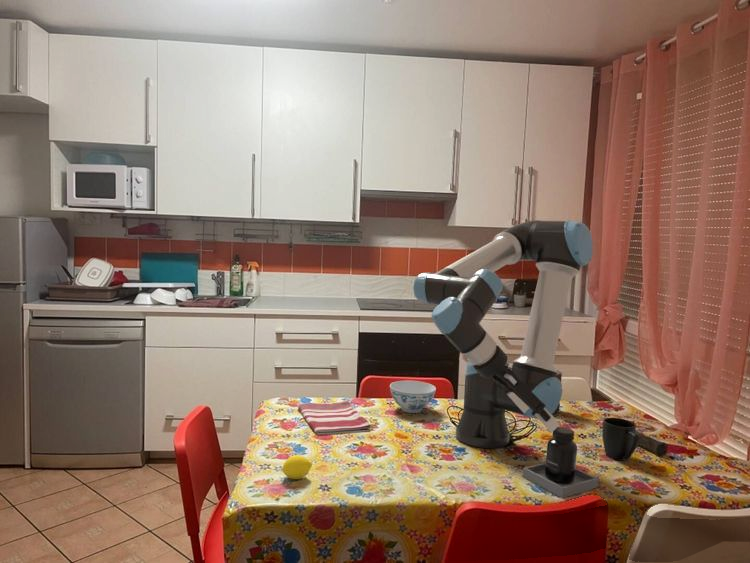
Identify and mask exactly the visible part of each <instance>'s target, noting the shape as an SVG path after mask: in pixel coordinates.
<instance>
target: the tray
mask: <svg viewBox="0 0 750 563" xmlns="http://www.w3.org/2000/svg"><path fill="white" fill-rule="evenodd" d="M545 465H546V462H542V463H538V464H533V465H530V466H525V467H523V468H522V475H521V476H522V477H523V478H524V479H526V480H527V481H530V482H532V483H534V484H535V485H537V486H539V487H540V488H543V489H544V490H547V491H549V492H550V493H552V494H554V495H555V496H558V497H559V498H567V497H569V496H570V497H571V496H574V495H576V494H580V493H584V492H587V491H591V490H594V489H593V488H595V489H597V488H596V487H599V477H595V476H593V475H591V474H590V473H587V472H585V471H582V470H580V469H579V468H577V467H575V477H574V481H573V482H572V483H569V484H560V483H556V482H553V481H551V480H549V479H548V478H547V477H546V476H545Z"/></svg>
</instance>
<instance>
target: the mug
mask: <svg viewBox="0 0 750 563" xmlns="http://www.w3.org/2000/svg"><path fill="white" fill-rule="evenodd" d="M636 430H637V424H636V423H634V421H631V420H628V419H624V418H619V417H605V418H604V419H603V420H602V431H601V432H602V443H603V448H604V451H605V452H604V453H605V456H606V457H607V458H610V459H612V460H615V461H627V460H629V459H630V458H631V457H632V455H633V453H634V452H635V450H636V448H638V446H639V445H638V443H639V435H638V434H637V433H636Z"/></svg>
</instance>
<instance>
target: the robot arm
mask: <svg viewBox="0 0 750 563" xmlns="http://www.w3.org/2000/svg"><path fill="white" fill-rule="evenodd" d="M591 233H592V232H591V231H590V229H589V227H588V225H586V224H584V223H583V222H581V221H571V220H566V221H565V220H540V219H539V220H535V219H534V220H529V221H525V222H521V223H519V224H516V225H514V226H511V227H508V228H506V229H504V230H503V231H501V232H499V233H497V234H496V235H495V236H494V237H493V239H492V241H491V242H489V243H487V244H485V245H483V246H481V247H479V248H478V249H476V250H475V251H473V252H471V253H469V254H468V255H467V254H466V256H464V257H461V258H460V259H459V260H456V261H454V262H453V263H451V264H450V265H447V266H446V267H444V268H443V269H440V270H438V271H436V272H433V273H432V272H422V273H420V274H418V275H417V276H416V277H415V279H414V280H413V281H414V282H413V287H412V288H413V289H412V290H413V294H414V296H415V298H416V299H417V300H418V301H420V302H421V303H422V302H423V303H427V304H429V305H437V306H435V308H434V309H433V311H432V313H431V320H432V322H433V324H434V325H435V326H436V328H437V329H438V330H439V332H440V333H441V334H442V335H444V337H445V338H446V339H447V340H448V341H449V342H450V344H452V345H453V346H454V347H455V348H456V350H457V351H458V352H459V353H460V354H461V355H463V356H462V357H461V359H462V360H463V361H466V360H467V363H466V367H465V368H466V369H465V374H464V376H465V377H464V396H463V408H462V409H463V410H462V412H461V415H460V419H459V420H458V421H459V422H458V424H457V425H456V428H455V438H456V439H457V440H458V441H459V442H461V443H463V444H466V445H469V446H472V447H476V448H482V449H497V448H503V447H505V446H508V444H509V443H510V436H511V435H510V431H509V429H508V424H507V423H508V422H507V418H506V414H505V413H506V411H507V412H510V413H514V414H517V415H521V416H524V418H529V419H536V420H539V422H540V423H542V425H543V426H544V427H545V428H546V429H547V431H548V432H549V433H552V434H553V431H554V430H555V429H556V428H557V427H560V422H558V420H557V419H556V418H555V417H554V415H552V413H554V411H555V410H556V408H557V407H558V405H559V402H561V400H562V395H563V384H562V380H561V381H560V380H559V379H558V378H556V376H557V370H558V369H557V368H556V367H555V366H554V365H555V364H554V361H555V360H554V359H555V356H556V353H557V348H558V342H559V339H560V333H561V328H562V325H563V319H564V317H565V316H564V315H565V311H566V308H567V307H566V306H567V302H568V297H569V292H570V288H571V284H572V279H573V278H574V277H576V276H578V275H579V274H580V270H581V266H582V267H584V266H587V265H588V264H589V263H590V261H591V260H592V256H593V251H594V244H593V237H592V234H591ZM524 261H525V262H526V261H529V262H531V261H533V262H535V267H536V268H537V269H538V271H539V273H538V278H537V283H536V287H535V291H534V295H533V300H532V304H531V309H530V313H529V317H528V321H527V326H526V331H525V334H524V339H523V343H522V348H521V352H520V356H519V357H517V358H516V359H514V360H513V361H512V366H511V367H510V363H509V360H508V356H507V354H506V353H505V351H504V350H503V349H502V348H501V347H500V346H499V345H498V344H497V342H496V341H495V340H494V339H493V337H492V336H491V335H490V334H489V333H488V331H486V330H485V329H484V328H483V326H482V325H481V322H482V320H483V319H484V318H485V316H486V315H487V313H488V312H489V311H490V309H491V308H492V307H493V306H494V304H495V303H496V302H497V300H498V297H499V296H500V295H501V293H502V291H503V288H504V284H503V281H502V280H501V277H499V276H498V275H497V273H495V272H496V271H498V270H500V269H501V268H503V267H505V266H506V265H510V266H511V265H514V264H517V263H518V262H524Z"/></svg>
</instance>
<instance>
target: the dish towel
mask: <svg viewBox="0 0 750 563" xmlns="http://www.w3.org/2000/svg"><path fill="white" fill-rule="evenodd" d="M297 408H298V411H300V413H301V415H302V417H303V418H304V420H305V421H306V422H307V423H308V425H309V427H310V428H311V429H312V431H313V432H314V433H315V435H317V436H318V435H319V436H322V435H333V434H346V433H347V434H349V433H361V432H362V433H363V432H370V429H371V424H370V423H369V422H368V420H367V419H365V418H364V417H363V416H361V415H360V414H359V412H358V411H357V410H356V409H354V408H353V406H351V403H350V401H347V400H346V401H341V402H335V403H314V402H308V403H307V402H306V403H302V404H299V405H298V407H297Z"/></svg>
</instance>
